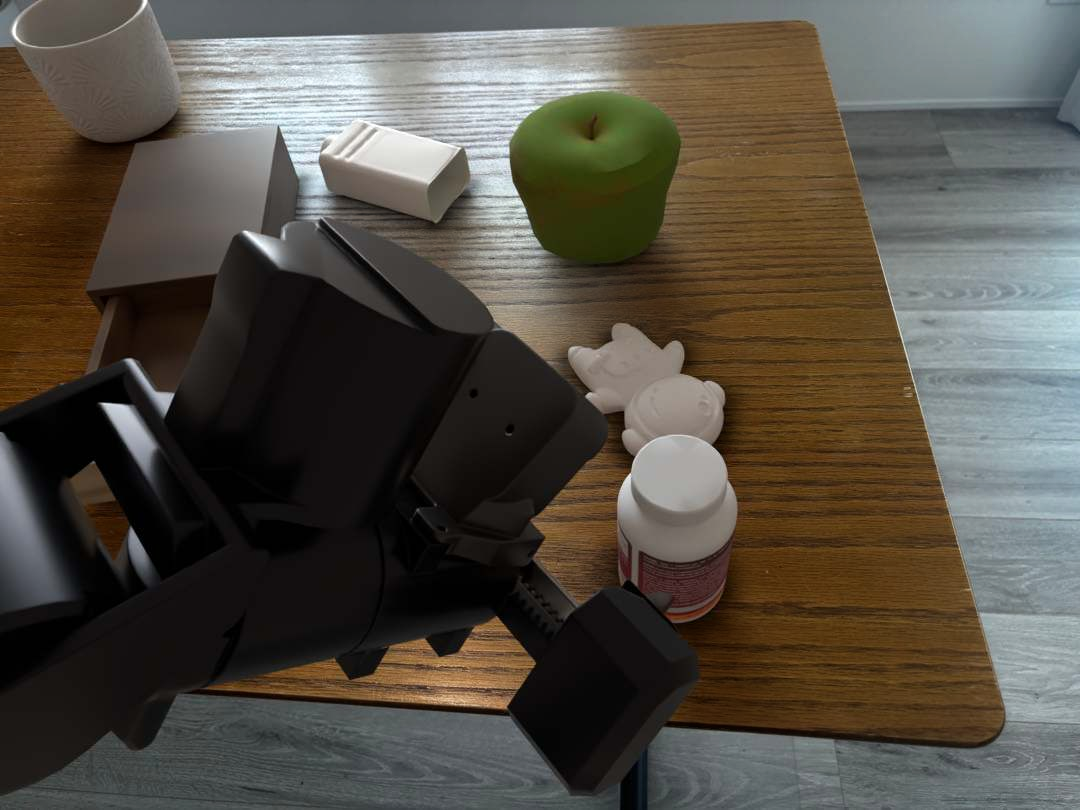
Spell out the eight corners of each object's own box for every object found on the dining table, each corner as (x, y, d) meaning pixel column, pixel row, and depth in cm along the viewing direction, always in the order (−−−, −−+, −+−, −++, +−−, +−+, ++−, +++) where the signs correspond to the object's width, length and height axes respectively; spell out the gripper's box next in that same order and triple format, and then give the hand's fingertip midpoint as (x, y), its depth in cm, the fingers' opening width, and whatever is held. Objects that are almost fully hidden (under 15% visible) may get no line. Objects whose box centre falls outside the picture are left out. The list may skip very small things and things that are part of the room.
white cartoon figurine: (650, 318, 63) (651, 288, 60) (750, 428, 56) (755, 400, 53) (547, 366, 60) (544, 337, 58) (637, 487, 54) (638, 459, 51)
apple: (661, 181, 72) (666, 58, 64) (685, 279, 65) (695, 154, 56) (517, 197, 73) (502, 76, 64) (524, 295, 65) (508, 174, 56)
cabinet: (281, 325, 65) (255, 269, 61) (122, 346, 65) (84, 291, 61) (299, 181, 77) (278, 124, 72) (164, 198, 77) (135, 142, 72)
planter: (76, 170, 81) (10, 64, 72) (66, 107, 88) (6, 4, 79) (203, 131, 83) (155, 23, 75) (183, 73, 90) (137, -31, 82)
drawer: (244, 499, 54) (220, 462, 51) (73, 522, 54) (37, 486, 51) (272, 299, 66) (254, 258, 63) (131, 317, 66) (105, 278, 63)
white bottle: (355, 151, 79) (343, 111, 76) (472, 182, 74) (465, 141, 71) (313, 192, 76) (299, 152, 72) (434, 227, 71) (424, 186, 68)
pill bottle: (746, 575, 49) (772, 470, 41) (678, 648, 47) (689, 553, 38) (665, 512, 52) (672, 402, 44) (596, 578, 50) (590, 475, 41)
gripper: (668, 578, 19) (871, 534, 32) (285, 205, 29) (555, 283, 41) (446, 887, 23) (707, 738, 35) (172, 461, 32) (452, 462, 45)
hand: (597, 534), depth 39 cm, fingers open, 9 cm apart
